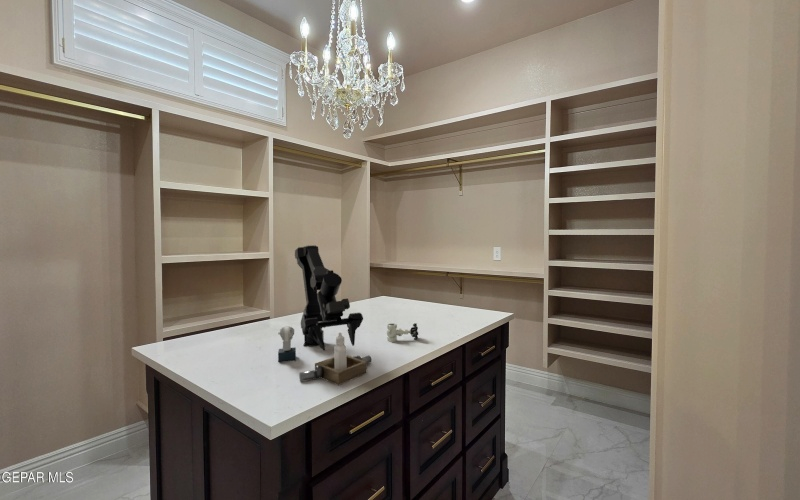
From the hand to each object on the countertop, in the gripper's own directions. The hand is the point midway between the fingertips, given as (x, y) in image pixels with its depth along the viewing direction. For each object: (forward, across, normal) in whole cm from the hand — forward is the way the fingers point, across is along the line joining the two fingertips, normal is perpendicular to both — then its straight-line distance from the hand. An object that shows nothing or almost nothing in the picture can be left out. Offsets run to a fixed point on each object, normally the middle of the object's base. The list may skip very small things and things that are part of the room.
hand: (339, 347), depth 106 cm
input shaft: (+4, +8, +7) cm, 12 cm away
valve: (-8, +32, +19) cm, 38 cm away
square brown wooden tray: (+6, 0, +5) cm, 8 cm away
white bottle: (+6, 0, +4) cm, 8 cm away
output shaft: (+6, -9, +5) cm, 12 cm away
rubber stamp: (-8, -12, +20) cm, 24 cm away
